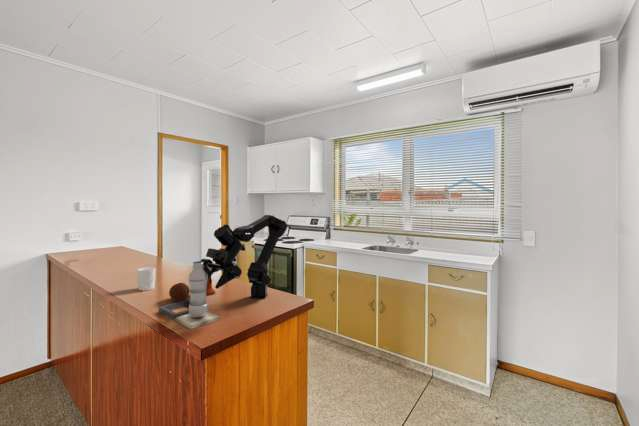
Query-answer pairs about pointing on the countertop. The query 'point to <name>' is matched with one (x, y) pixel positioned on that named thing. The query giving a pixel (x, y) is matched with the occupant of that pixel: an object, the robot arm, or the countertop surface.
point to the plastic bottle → (198, 291)
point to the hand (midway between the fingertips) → (207, 286)
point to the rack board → (196, 320)
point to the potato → (179, 292)
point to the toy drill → (210, 285)
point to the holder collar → (167, 308)
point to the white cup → (146, 278)
